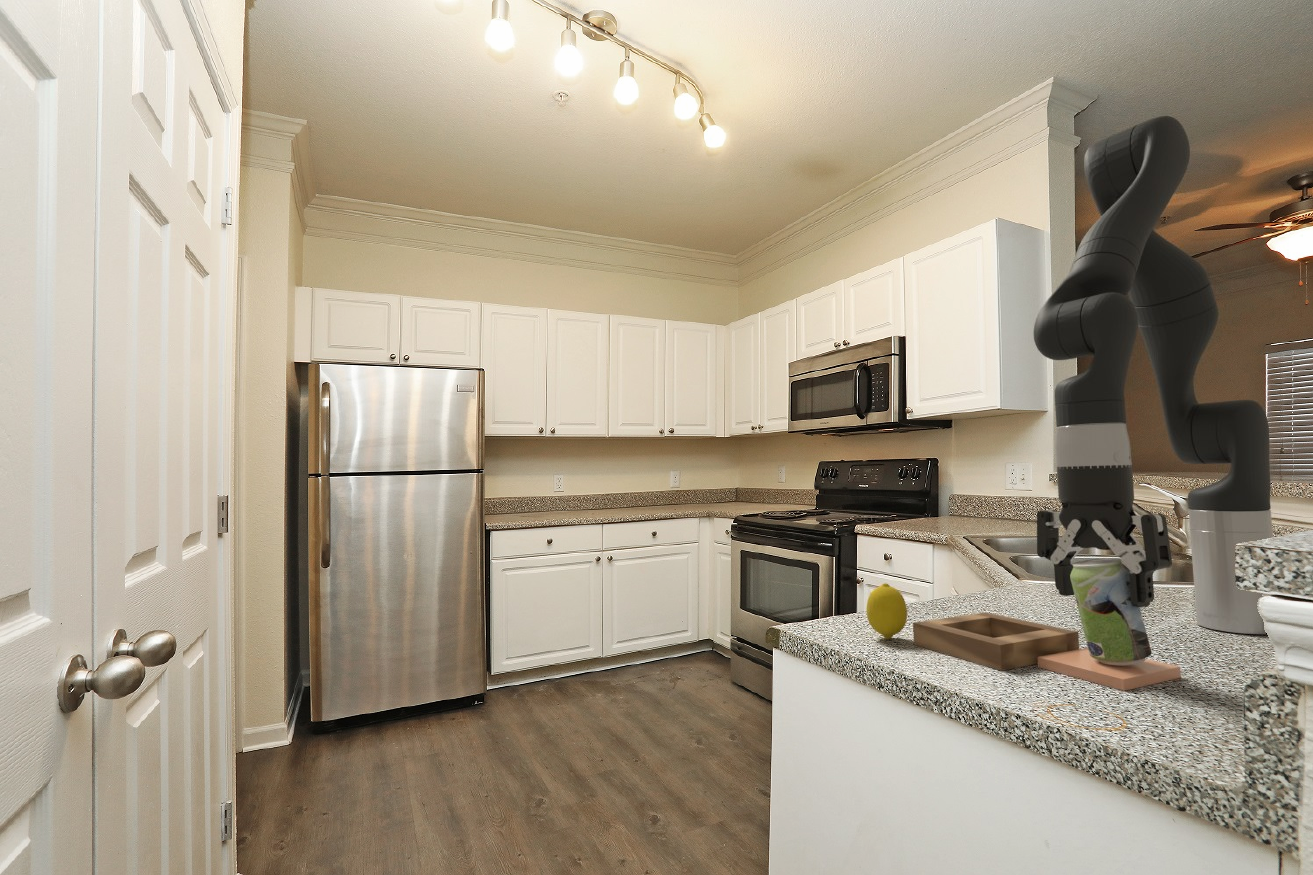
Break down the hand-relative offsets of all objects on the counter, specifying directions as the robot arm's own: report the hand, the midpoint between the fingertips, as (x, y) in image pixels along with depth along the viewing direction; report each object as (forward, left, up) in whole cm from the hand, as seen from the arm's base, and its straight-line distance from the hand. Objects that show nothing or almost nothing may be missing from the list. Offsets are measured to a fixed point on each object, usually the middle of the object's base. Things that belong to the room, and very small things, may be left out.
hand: (1102, 600), depth 78 cm
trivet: (0, 0, -8) cm, 8 cm away
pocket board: (+3, -13, -8) cm, 16 cm away
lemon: (+11, -24, -8) cm, 28 cm away
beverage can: (0, +1, -7) cm, 7 cm away
